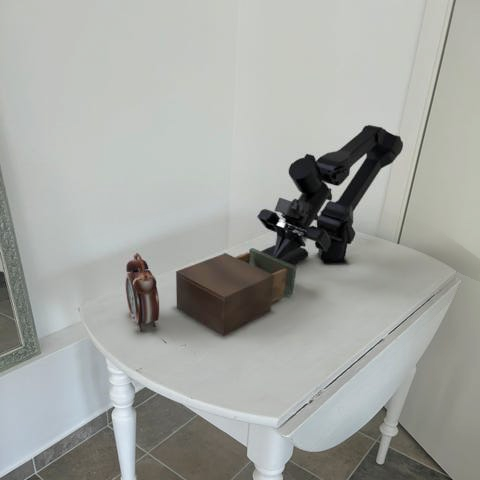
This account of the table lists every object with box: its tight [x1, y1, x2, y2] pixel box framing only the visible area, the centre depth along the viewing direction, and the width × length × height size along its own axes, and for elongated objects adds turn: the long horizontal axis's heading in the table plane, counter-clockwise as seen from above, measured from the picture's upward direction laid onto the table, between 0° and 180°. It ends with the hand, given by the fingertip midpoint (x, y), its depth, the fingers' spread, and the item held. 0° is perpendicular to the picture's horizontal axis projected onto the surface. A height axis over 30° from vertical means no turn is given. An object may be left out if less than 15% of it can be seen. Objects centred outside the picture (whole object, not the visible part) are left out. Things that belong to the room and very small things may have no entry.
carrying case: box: [260, 244, 309, 266], centre depth 128 cm, size 11×3×15 cm
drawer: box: [234, 247, 297, 303], centre depth 109 cm, size 15×13×7 cm
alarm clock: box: [124, 252, 160, 332], centre depth 96 cm, size 11×5×15 cm, turn 23°
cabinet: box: [175, 252, 274, 337], centre depth 103 cm, size 15×15×9 cm
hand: (274, 259), depth 112 cm, fingers closed
